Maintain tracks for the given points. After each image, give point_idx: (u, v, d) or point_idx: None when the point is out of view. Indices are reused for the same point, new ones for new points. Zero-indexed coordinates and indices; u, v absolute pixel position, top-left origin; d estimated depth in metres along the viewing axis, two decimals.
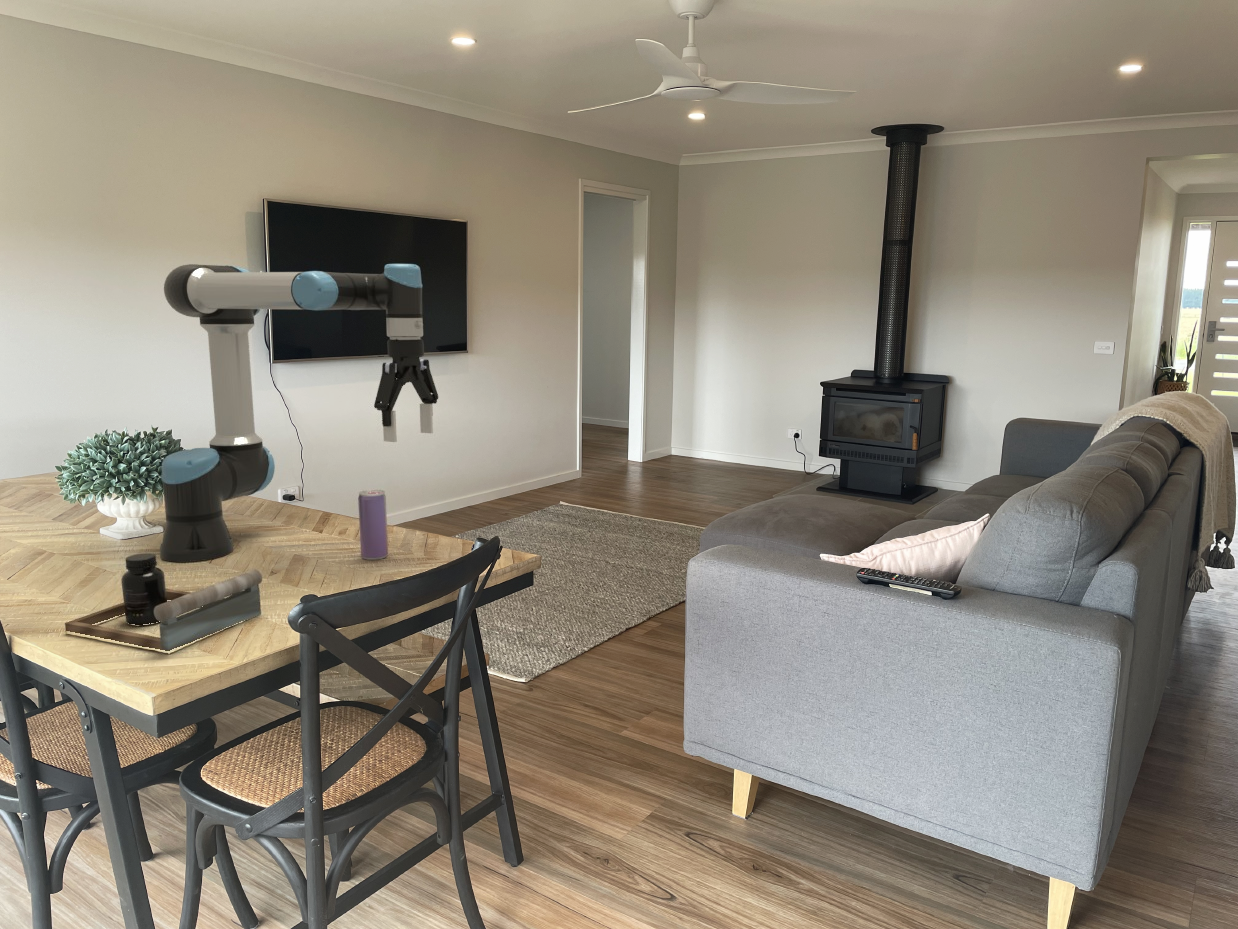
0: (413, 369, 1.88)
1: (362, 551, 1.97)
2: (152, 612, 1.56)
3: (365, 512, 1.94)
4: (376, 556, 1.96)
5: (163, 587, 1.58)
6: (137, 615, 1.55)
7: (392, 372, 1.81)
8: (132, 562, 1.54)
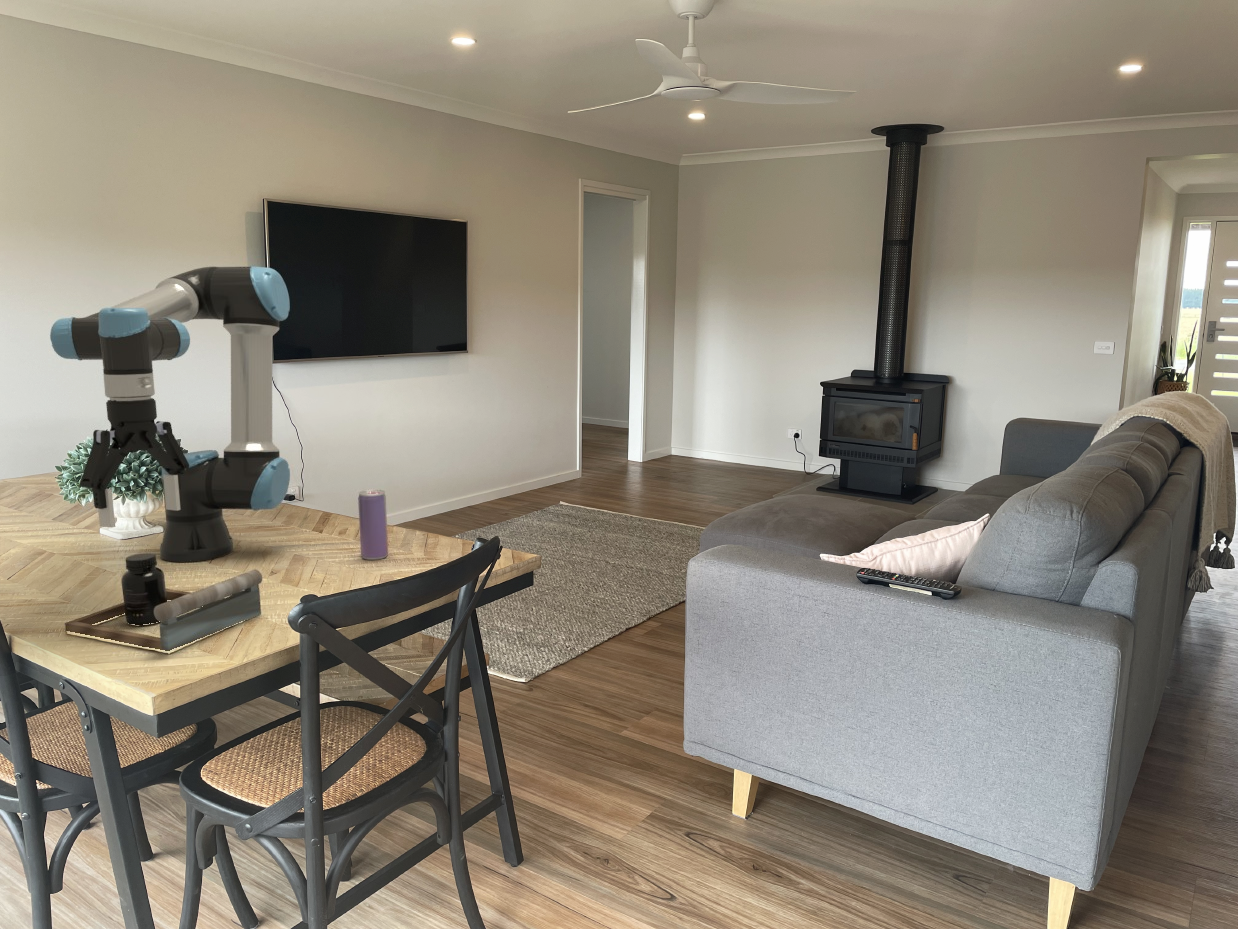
0: (142, 435, 1.53)
1: (362, 551, 1.97)
2: (152, 612, 1.56)
3: (365, 512, 1.94)
4: (376, 556, 1.96)
5: (163, 587, 1.58)
6: (137, 615, 1.55)
7: (104, 443, 1.47)
8: (132, 562, 1.54)
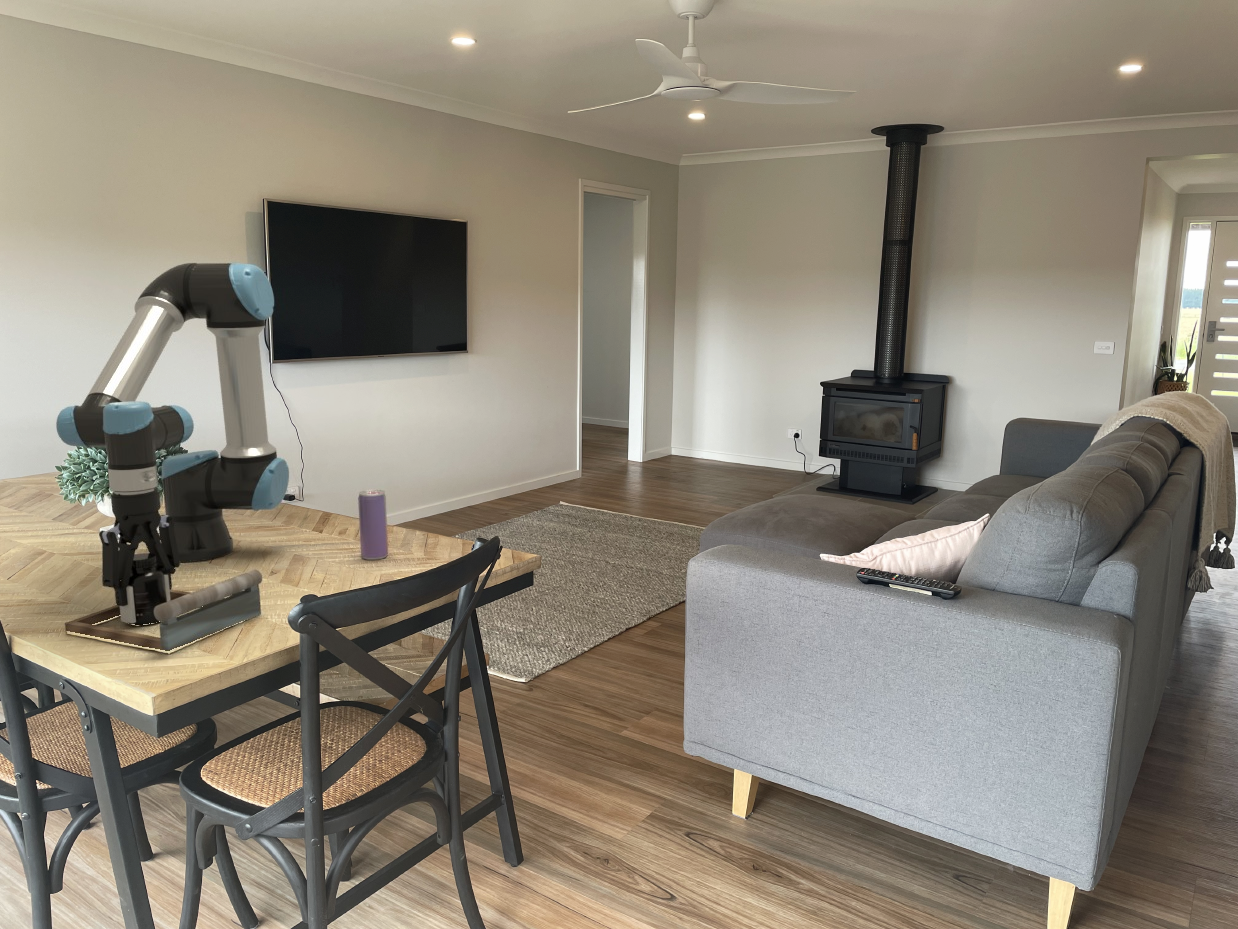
0: (146, 525, 1.56)
1: (362, 551, 1.97)
2: (152, 612, 1.56)
3: (365, 512, 1.94)
4: (376, 556, 1.96)
5: (163, 587, 1.58)
6: (137, 615, 1.55)
7: (113, 544, 1.50)
8: None
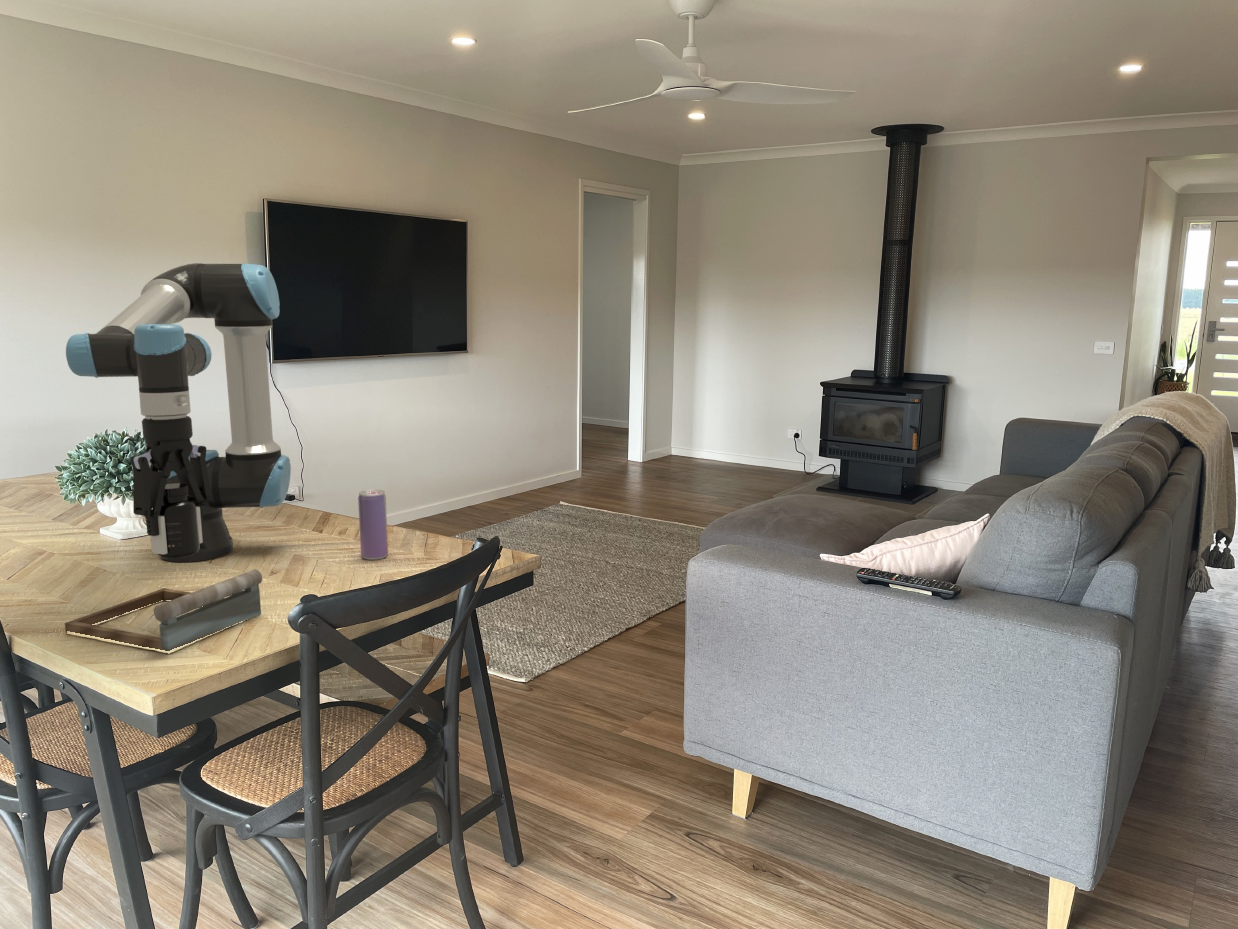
0: (178, 453, 1.50)
1: (362, 551, 1.97)
2: (184, 543, 1.50)
3: (365, 512, 1.94)
4: (376, 556, 1.96)
5: (195, 518, 1.52)
6: (169, 546, 1.50)
7: (144, 469, 1.44)
8: None
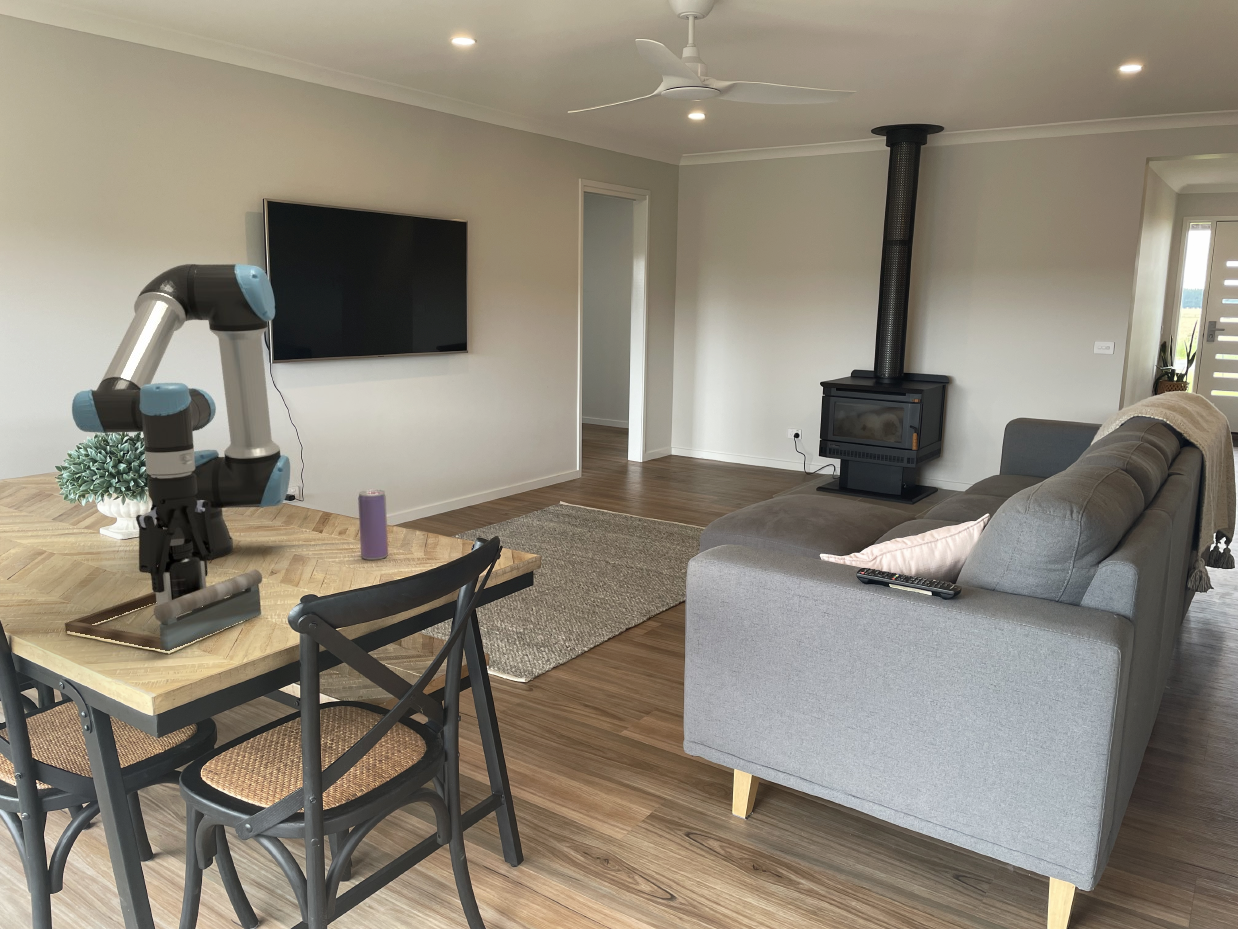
0: (182, 510, 1.52)
1: (362, 551, 1.97)
2: None
3: (365, 512, 1.94)
4: (376, 556, 1.96)
5: (200, 573, 1.54)
6: None
7: (150, 528, 1.46)
8: None
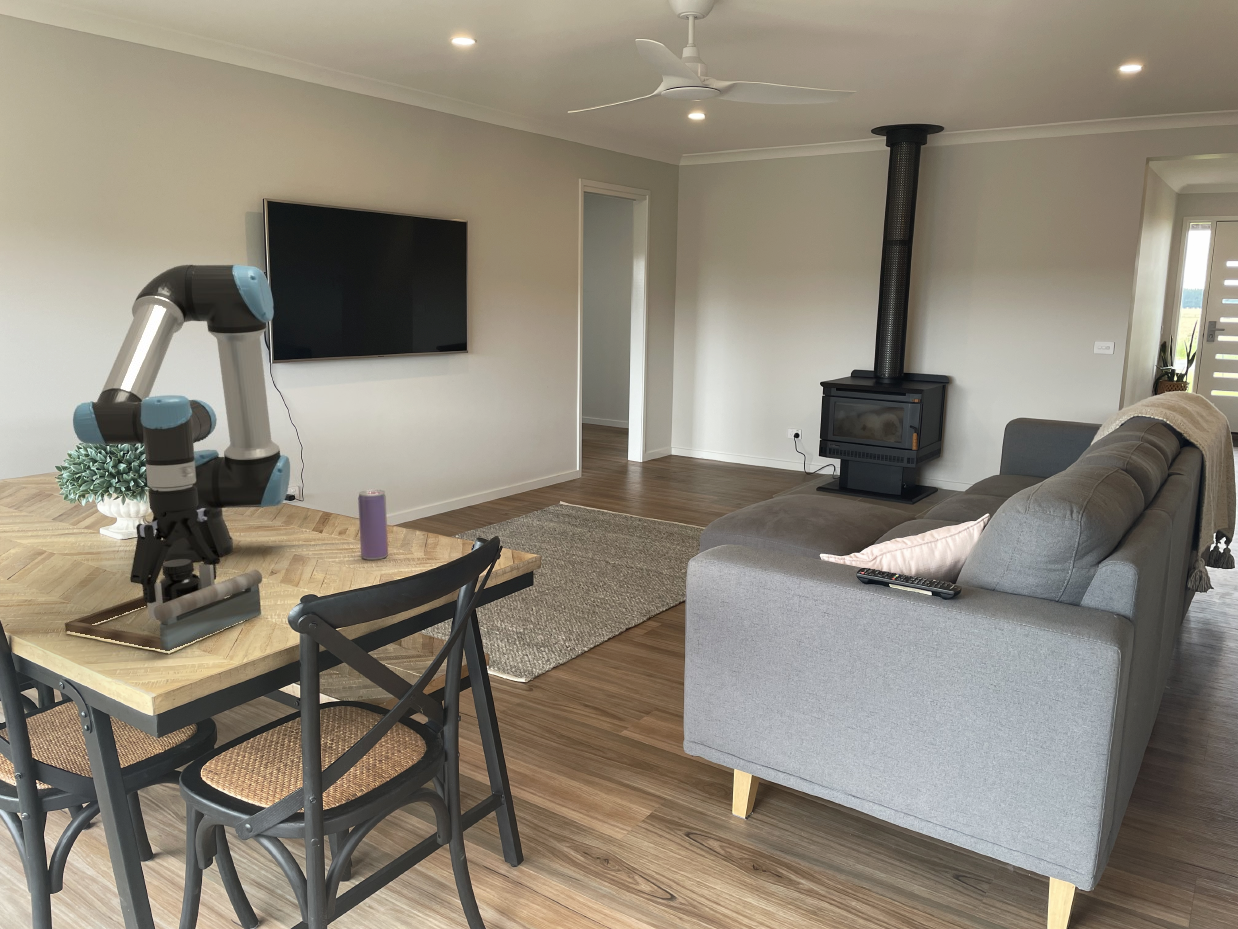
0: (184, 523, 1.52)
1: (362, 551, 1.97)
2: None
3: (365, 512, 1.94)
4: (376, 556, 1.96)
5: None
6: None
7: (149, 537, 1.46)
8: (169, 568, 1.51)
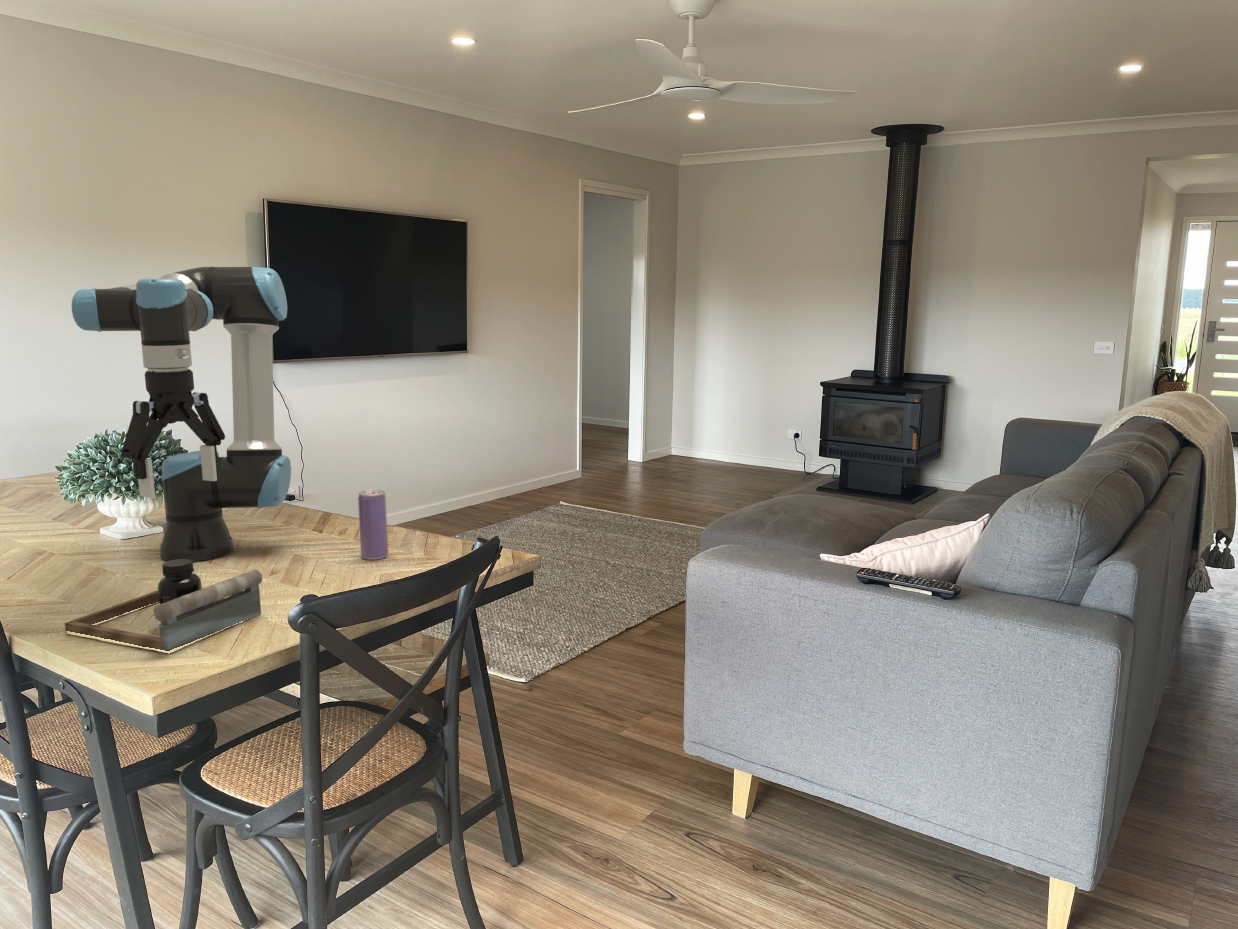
0: (180, 406, 1.54)
1: (362, 551, 1.97)
2: None
3: (365, 512, 1.94)
4: (376, 556, 1.96)
5: None
6: None
7: (144, 413, 1.47)
8: (169, 568, 1.51)
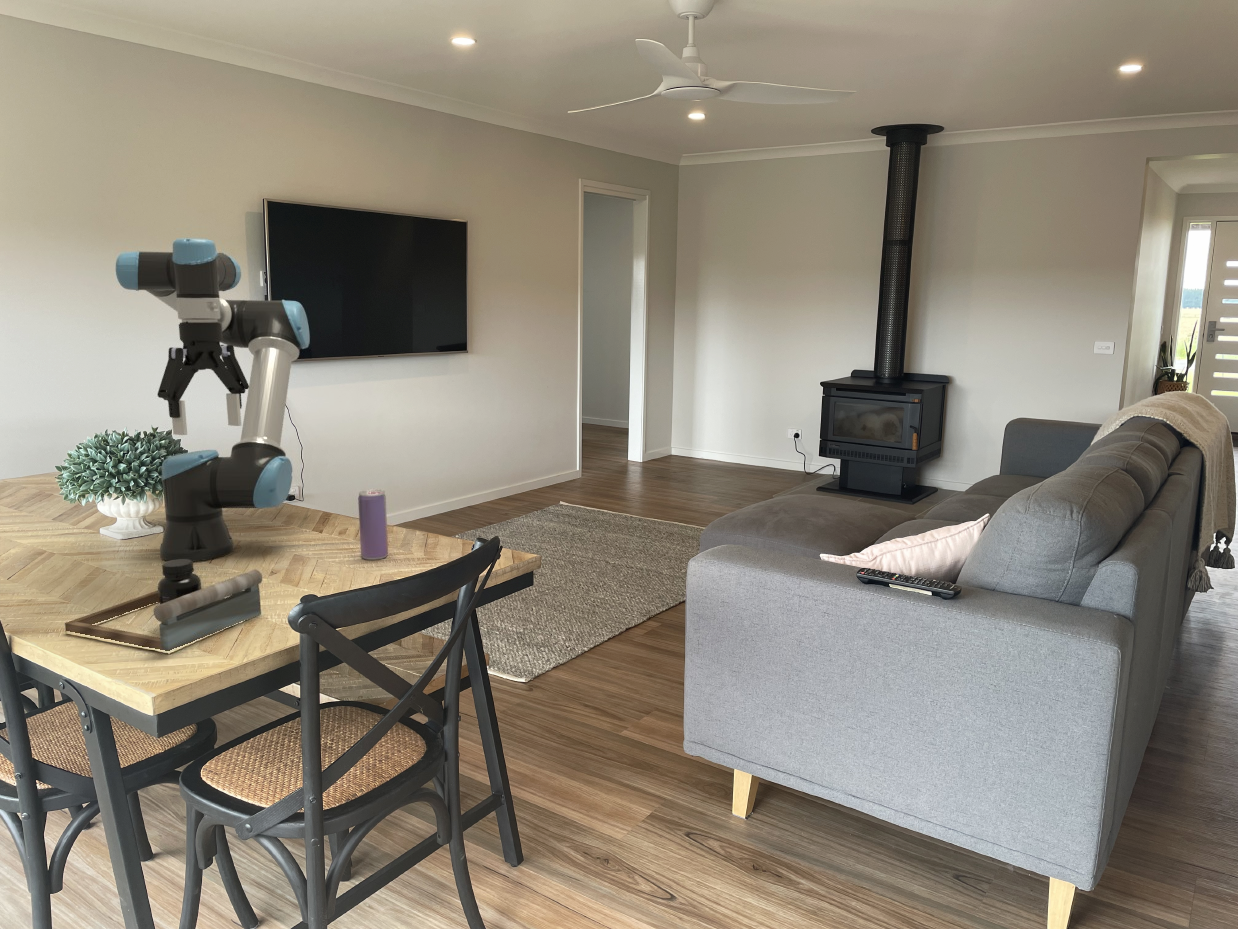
0: (210, 355, 1.71)
1: (362, 551, 1.97)
2: None
3: (365, 512, 1.94)
4: (376, 556, 1.96)
5: None
6: None
7: (178, 358, 1.65)
8: (169, 568, 1.51)
